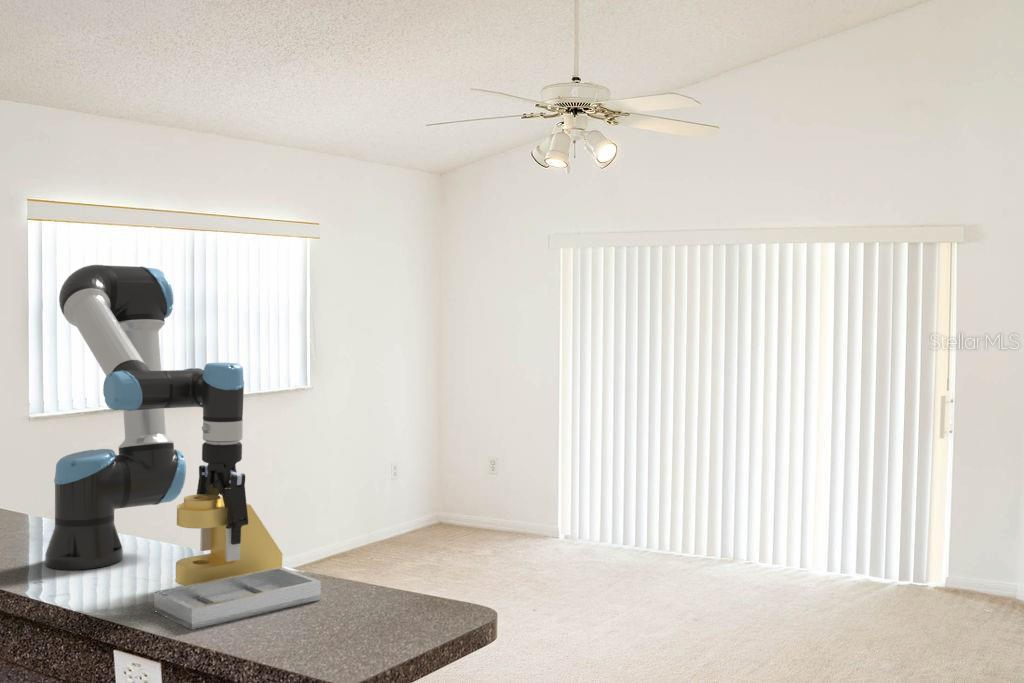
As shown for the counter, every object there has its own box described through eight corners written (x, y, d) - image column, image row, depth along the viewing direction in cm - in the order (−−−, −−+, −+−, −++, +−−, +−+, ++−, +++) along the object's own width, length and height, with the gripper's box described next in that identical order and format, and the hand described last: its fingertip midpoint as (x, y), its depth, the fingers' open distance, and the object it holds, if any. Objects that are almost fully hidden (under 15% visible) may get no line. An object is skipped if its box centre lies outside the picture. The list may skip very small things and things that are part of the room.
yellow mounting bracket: (190, 589, 180) (192, 504, 179) (166, 578, 186) (168, 496, 186) (282, 570, 195) (283, 492, 194) (257, 560, 201) (259, 485, 200)
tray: (153, 611, 172) (154, 591, 172) (280, 584, 191) (280, 566, 191) (191, 629, 162) (192, 609, 162) (320, 599, 181) (321, 581, 181)
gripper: (177, 436, 193) (175, 546, 194) (233, 450, 178) (231, 570, 179) (212, 433, 199) (209, 541, 200) (269, 447, 184) (266, 563, 184)
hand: (219, 554), depth 189 cm, fingers closed on yellow mounting bracket, 9 cm apart
